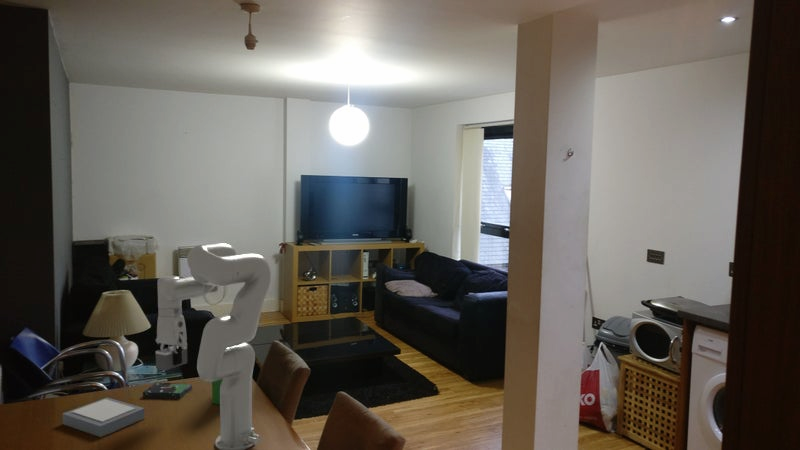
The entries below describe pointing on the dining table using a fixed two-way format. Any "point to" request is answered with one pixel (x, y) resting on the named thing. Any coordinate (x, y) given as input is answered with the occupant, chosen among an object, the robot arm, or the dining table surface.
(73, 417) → the stand
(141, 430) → the dining table surface
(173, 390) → the disk drive
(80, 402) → the dining table surface
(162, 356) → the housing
